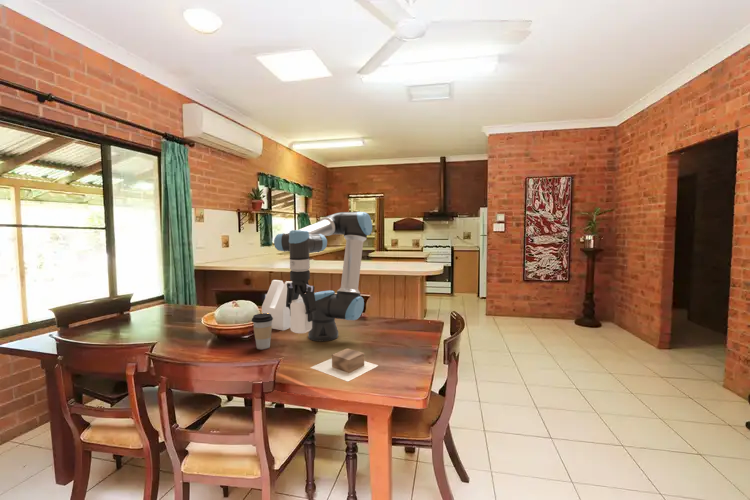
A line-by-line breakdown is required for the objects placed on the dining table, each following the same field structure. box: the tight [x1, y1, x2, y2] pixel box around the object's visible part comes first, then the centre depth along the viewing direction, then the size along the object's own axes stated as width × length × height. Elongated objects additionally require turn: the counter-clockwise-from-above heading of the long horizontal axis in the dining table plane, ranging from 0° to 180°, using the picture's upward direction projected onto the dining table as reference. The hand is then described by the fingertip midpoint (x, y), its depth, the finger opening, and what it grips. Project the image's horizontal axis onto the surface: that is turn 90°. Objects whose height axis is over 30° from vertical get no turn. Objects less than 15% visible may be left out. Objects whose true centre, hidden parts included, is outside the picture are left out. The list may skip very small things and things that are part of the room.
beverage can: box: [290, 299, 311, 334], centre depth 137 cm, size 8×8×12 cm
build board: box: [309, 357, 379, 382], centre depth 137 cm, size 20×18×1 cm
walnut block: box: [331, 347, 365, 373], centre depth 137 cm, size 9×9×5 cm
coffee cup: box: [251, 313, 273, 350], centre depth 162 cm, size 9×9×15 cm
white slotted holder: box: [261, 279, 302, 331], centre depth 199 cm, size 19×15×25 cm
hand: (301, 327), depth 137 cm, fingers closed on beverage can, 8 cm apart
